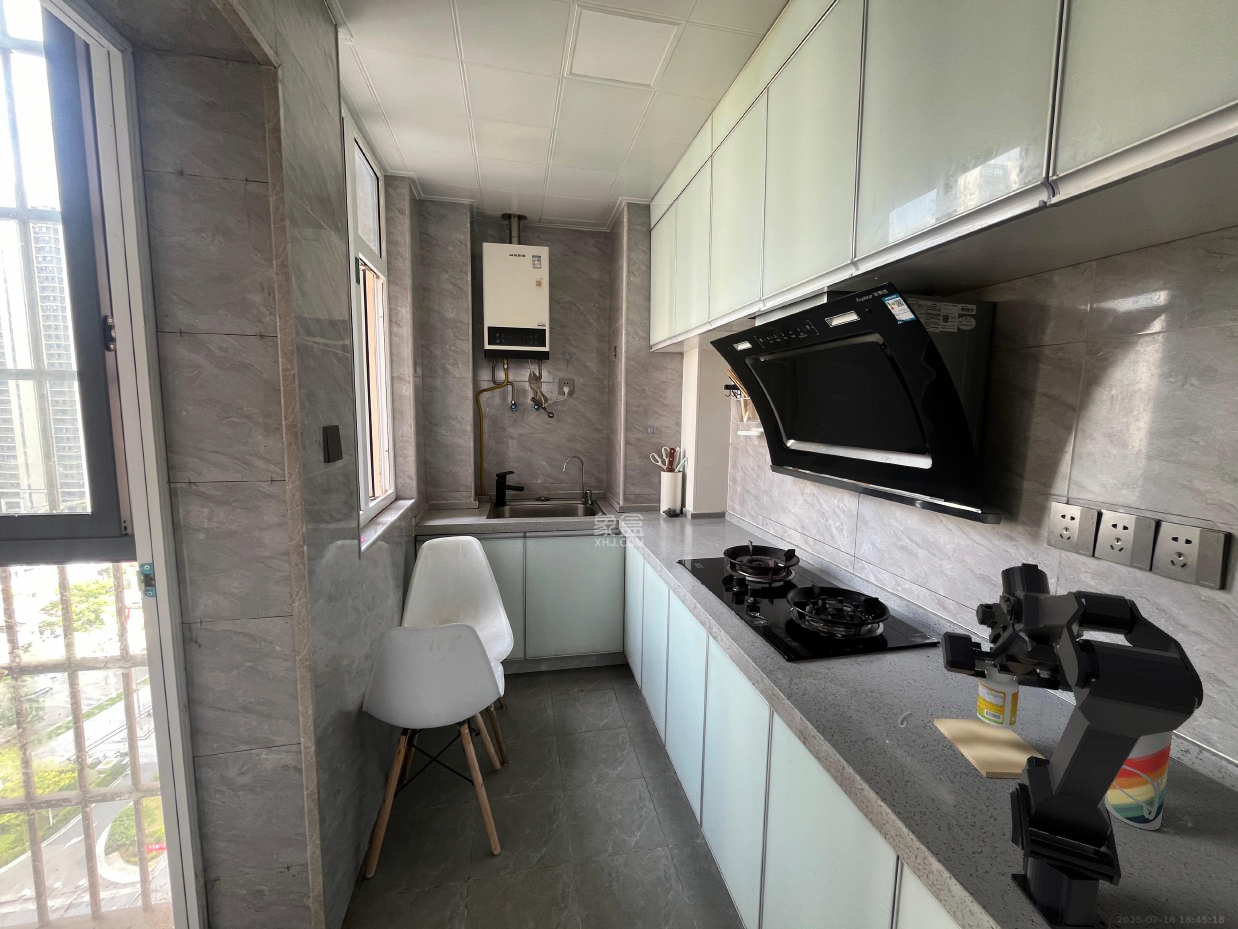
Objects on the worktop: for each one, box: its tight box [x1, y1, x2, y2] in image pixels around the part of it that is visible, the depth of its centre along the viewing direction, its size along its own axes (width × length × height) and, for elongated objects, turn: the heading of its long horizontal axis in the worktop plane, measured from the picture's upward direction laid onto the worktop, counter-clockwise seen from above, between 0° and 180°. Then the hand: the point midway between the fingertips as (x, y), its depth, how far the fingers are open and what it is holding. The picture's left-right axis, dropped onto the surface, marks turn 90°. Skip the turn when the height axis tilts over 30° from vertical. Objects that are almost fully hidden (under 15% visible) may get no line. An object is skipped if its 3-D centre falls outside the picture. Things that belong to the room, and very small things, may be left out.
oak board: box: [933, 718, 1046, 779], centre depth 87 cm, size 14×12×1 cm
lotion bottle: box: [1104, 731, 1173, 831], centre depth 72 cm, size 6×6×20 cm
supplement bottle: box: [976, 662, 1020, 729], centre depth 86 cm, size 5×5×10 cm
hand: (996, 678), depth 87 cm, fingers closed on supplement bottle, 5 cm apart
